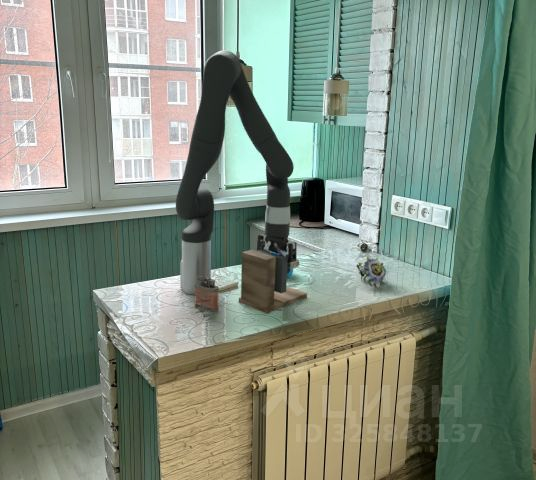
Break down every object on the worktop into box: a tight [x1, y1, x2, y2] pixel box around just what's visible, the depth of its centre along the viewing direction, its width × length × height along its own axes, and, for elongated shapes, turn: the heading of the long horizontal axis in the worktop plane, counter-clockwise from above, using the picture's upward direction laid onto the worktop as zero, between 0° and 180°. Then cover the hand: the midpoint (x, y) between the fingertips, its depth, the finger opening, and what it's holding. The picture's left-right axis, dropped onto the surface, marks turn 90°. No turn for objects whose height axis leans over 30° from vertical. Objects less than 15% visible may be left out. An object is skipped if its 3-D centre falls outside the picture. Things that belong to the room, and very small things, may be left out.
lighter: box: [194, 276, 220, 314], centre depth 155 cm, size 8×3×10 cm, turn 59°
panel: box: [256, 249, 288, 293], centre depth 162 cm, size 2×11×11 cm, turn 48°
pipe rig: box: [238, 249, 308, 315], centre depth 164 cm, size 20×12×16 cm, turn 138°
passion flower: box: [356, 255, 389, 289], centre depth 182 cm, size 11×11×12 cm
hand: (275, 270), depth 163 cm, fingers open, 8 cm apart
